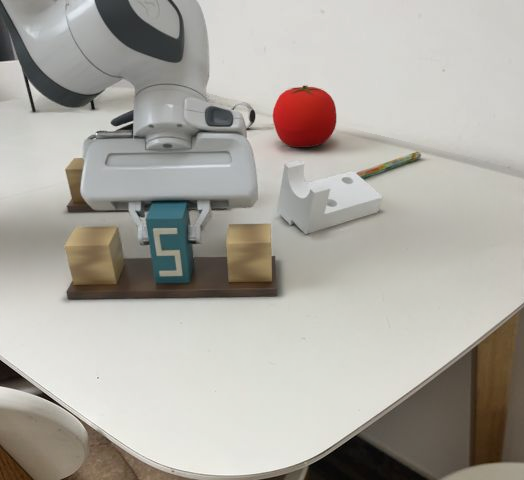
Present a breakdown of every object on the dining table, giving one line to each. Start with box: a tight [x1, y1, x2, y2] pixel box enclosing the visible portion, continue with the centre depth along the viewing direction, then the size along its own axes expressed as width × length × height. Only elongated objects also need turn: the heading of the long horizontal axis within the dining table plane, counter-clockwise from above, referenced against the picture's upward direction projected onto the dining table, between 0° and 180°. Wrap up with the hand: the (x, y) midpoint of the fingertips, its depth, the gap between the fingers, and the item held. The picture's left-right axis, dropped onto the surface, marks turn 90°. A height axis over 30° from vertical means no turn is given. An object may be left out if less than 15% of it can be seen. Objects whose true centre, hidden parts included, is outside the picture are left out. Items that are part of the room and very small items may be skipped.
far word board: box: [64, 157, 228, 213], centre depth 87 cm, size 24×8×6 cm, turn 90°
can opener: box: [110, 109, 134, 131], centre depth 117 cm, size 18×7×6 cm, turn 127°
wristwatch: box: [230, 101, 256, 130], centre depth 117 cm, size 3×5×5 cm, turn 64°
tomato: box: [272, 84, 337, 148], centre depth 106 cm, size 12×12×10 cm
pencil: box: [355, 151, 422, 179], centre depth 96 cm, size 1×1×18 cm
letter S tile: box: [145, 200, 195, 284], centre depth 65 cm, size 4×5×8 cm
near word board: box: [63, 223, 277, 300], centre depth 67 cm, size 24×8×6 cm, turn 90°
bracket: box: [276, 159, 384, 235], centre depth 80 cm, size 13×7×8 cm, turn 122°
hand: (170, 243), depth 65 cm, fingers open, 4 cm apart
